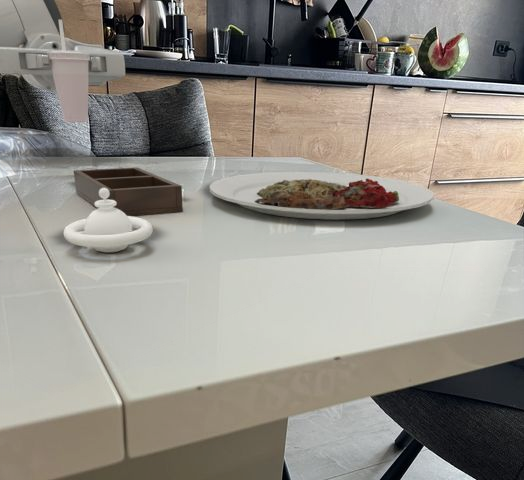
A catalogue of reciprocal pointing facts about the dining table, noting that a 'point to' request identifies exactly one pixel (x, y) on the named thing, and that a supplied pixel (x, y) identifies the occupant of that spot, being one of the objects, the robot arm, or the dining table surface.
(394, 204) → the plated food
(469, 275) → the dining table surface
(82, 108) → the smoothie
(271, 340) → the dining table surface
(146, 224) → the ring around a ball
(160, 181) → the holder
